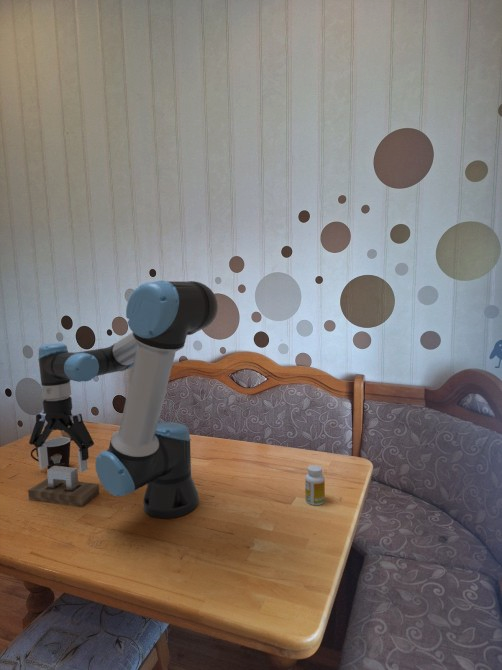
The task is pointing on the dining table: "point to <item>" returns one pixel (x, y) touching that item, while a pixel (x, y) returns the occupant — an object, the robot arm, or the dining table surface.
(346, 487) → the dining table surface
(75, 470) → the clip
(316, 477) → the supplement bottle
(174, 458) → the robot arm
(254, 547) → the dining table surface
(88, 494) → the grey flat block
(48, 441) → the coffee mug
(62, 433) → the egg
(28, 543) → the dining table surface
